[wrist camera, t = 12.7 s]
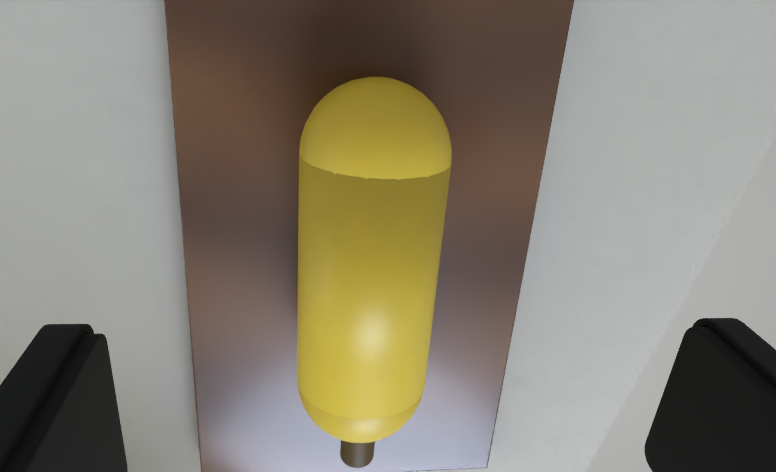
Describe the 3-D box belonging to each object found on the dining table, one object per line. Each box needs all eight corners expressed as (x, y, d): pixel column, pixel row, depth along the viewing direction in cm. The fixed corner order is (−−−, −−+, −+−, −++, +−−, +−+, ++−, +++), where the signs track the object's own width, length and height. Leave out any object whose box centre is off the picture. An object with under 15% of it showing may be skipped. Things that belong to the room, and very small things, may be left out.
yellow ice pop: (302, 62, 14) (296, 86, 11) (443, 70, 15) (478, 96, 12) (298, 411, 19) (293, 502, 15) (407, 410, 19) (424, 498, 16)
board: (162, -140, 13) (151, -149, 12) (575, -97, 15) (594, -102, 14) (206, 459, 20) (201, 482, 19) (479, 448, 22) (487, 468, 21)
